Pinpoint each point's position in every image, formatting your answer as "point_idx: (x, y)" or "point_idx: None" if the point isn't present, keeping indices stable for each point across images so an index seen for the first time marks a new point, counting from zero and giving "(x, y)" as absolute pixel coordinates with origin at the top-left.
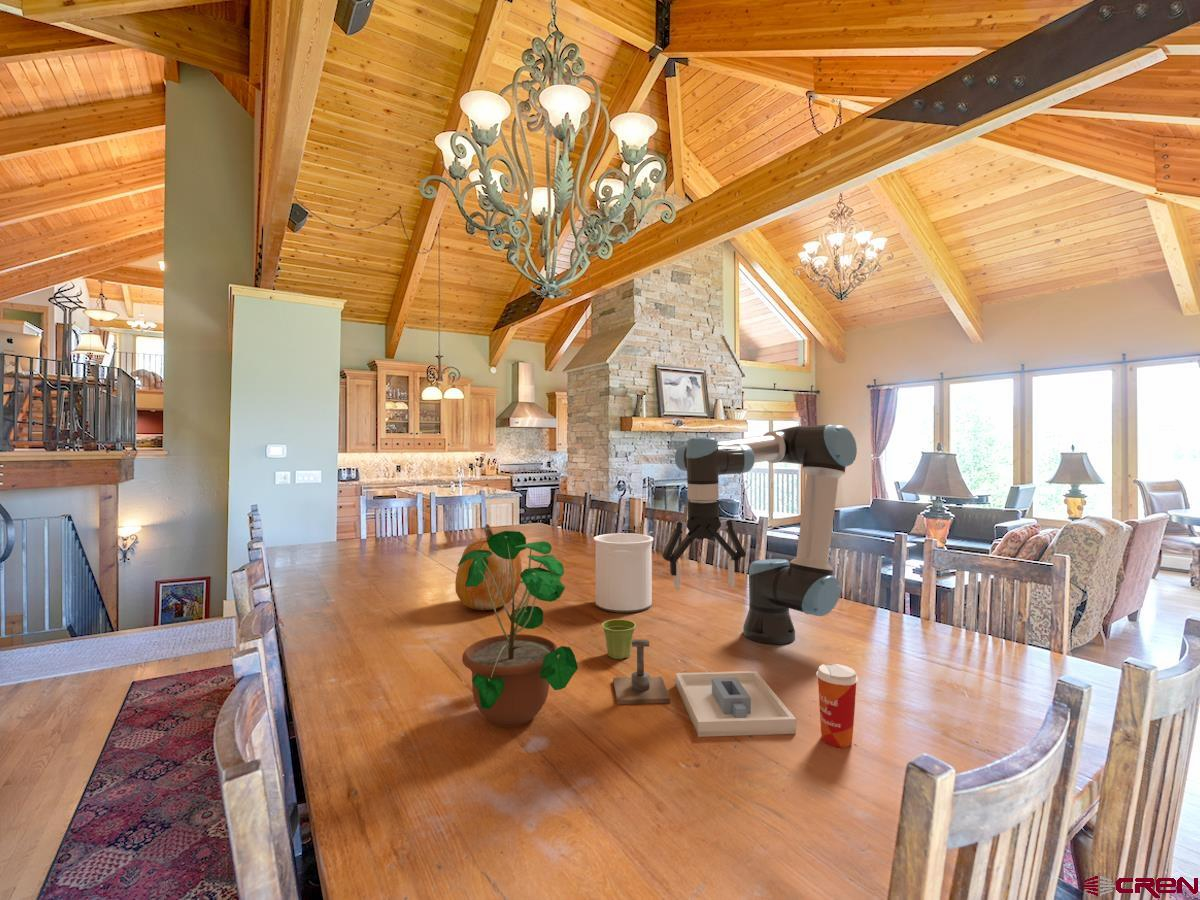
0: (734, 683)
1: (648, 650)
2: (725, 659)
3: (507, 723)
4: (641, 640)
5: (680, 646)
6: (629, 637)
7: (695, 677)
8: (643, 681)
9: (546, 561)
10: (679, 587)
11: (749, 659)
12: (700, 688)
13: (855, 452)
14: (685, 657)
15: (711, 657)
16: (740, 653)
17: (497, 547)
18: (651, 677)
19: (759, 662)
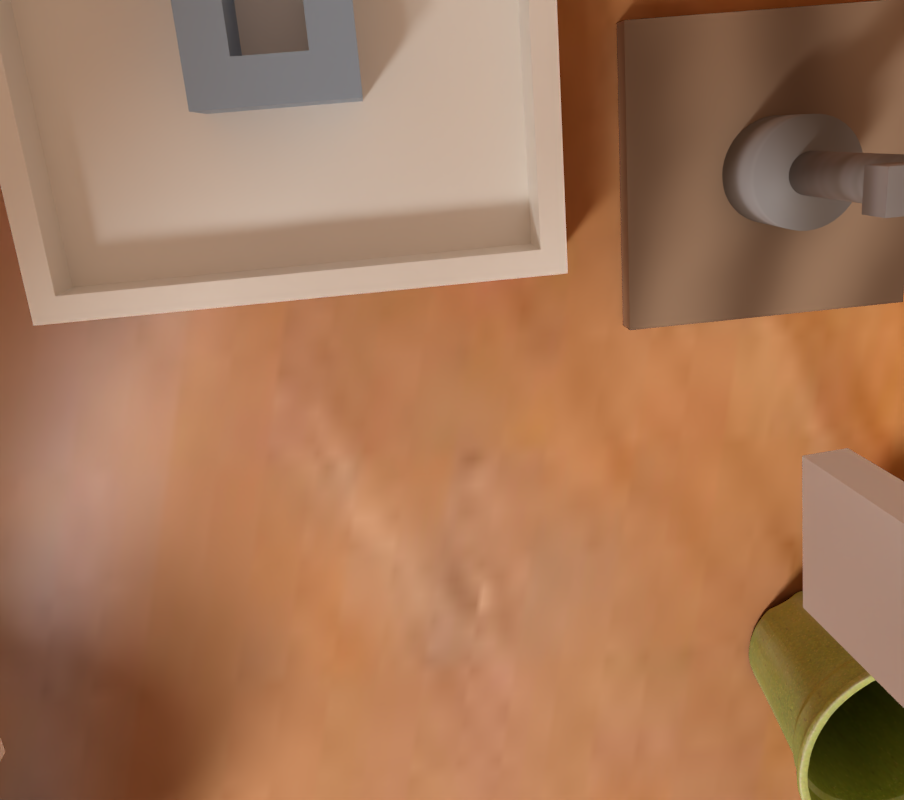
0: (215, 11)
1: (636, 719)
2: (209, 634)
3: None
4: None
5: (449, 787)
6: (818, 670)
7: (443, 256)
8: (790, 117)
9: None
10: (830, 469)
11: (62, 644)
12: (422, 166)
13: None
14: (441, 643)
15: (289, 655)
16: (107, 723)
17: None
18: (688, 314)
19: (4, 607)
